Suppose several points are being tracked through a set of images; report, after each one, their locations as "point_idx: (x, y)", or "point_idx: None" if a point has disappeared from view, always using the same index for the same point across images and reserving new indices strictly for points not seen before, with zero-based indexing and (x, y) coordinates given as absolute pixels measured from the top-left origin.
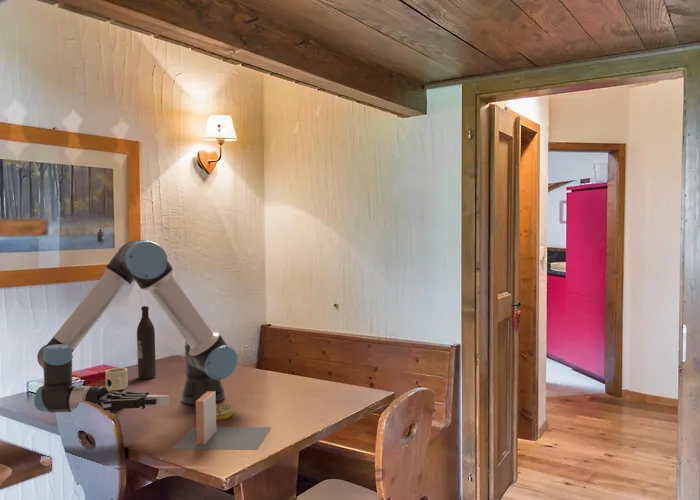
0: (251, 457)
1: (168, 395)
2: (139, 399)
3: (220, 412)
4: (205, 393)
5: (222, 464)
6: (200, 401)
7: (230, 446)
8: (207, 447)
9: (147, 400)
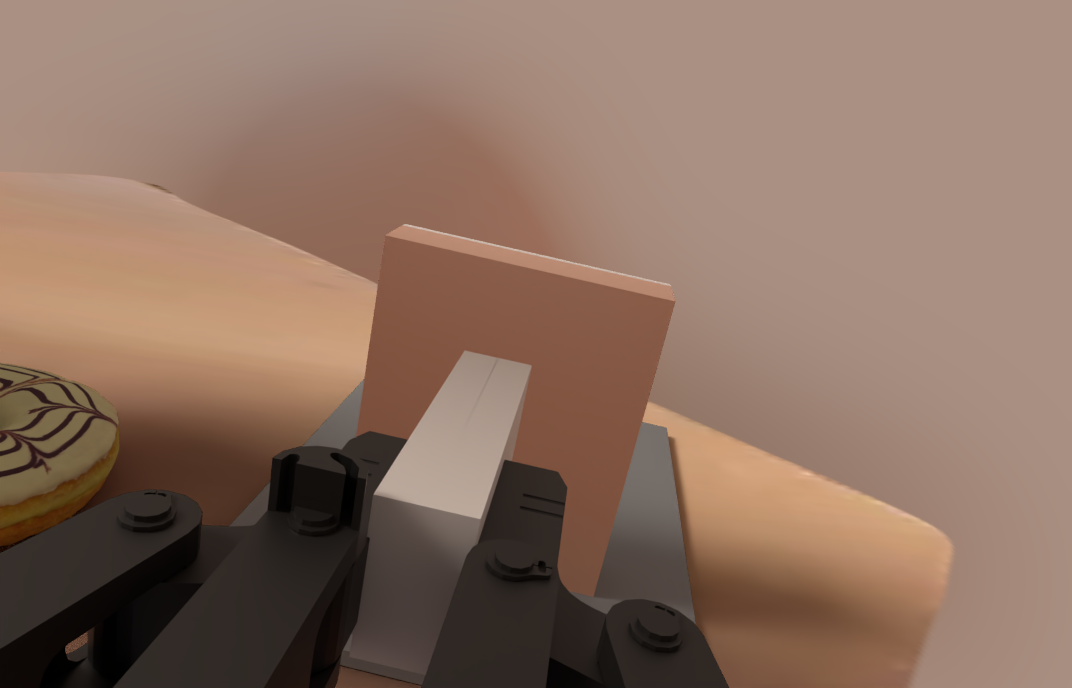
0: (727, 456)
1: (470, 356)
2: (667, 608)
3: (100, 412)
4: (447, 248)
5: (834, 532)
6: (671, 293)
7: (634, 482)
8: (660, 555)
9: (554, 552)
